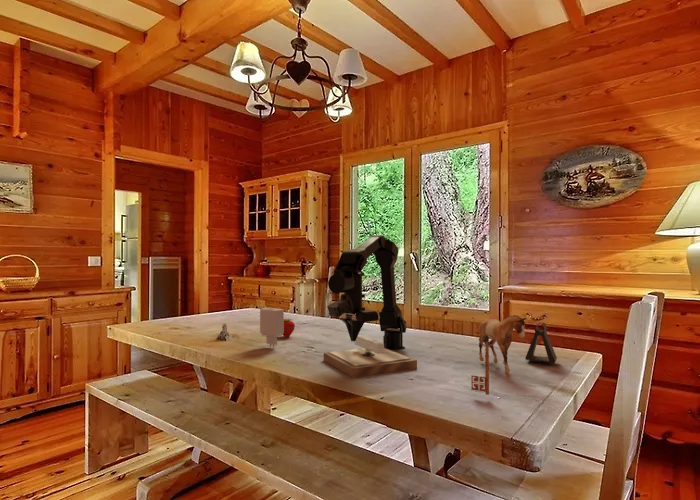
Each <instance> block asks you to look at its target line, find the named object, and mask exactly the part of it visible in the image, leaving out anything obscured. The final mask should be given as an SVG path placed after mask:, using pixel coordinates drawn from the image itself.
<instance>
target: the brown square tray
mask: <svg viewBox="0 0 700 500" xmlns="http://www.w3.org/2000/svg"><path fill="white" fill-rule="evenodd" d="M323 361H324V362H325V363H327V364H329V365H331V366H332V367H333V368H336V369H338V370H340V371H341V372H343V373H344V374H346V375H348V376H350V377H351V378H352V379H353V378H359V377H360V378H361V377H366V376H373V375H374V376H375V375H380V374H381V375H382V374H387V373H393V372H394V373H395V372H401V371H406V370H415V369H418V360H417V359H415V358H413V357H410V356H407V355H405V354H402V353H400V352H397V351H394V350H389V349H387V348H384V353H383V354H377V353H375V352H372V354H365V348H363V347H360V348H354V349H344V350H335V351H329V352H326V351H325V352H323Z"/></svg>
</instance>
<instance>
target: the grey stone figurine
mask: <svg viewBox="0 0 700 500" xmlns="http://www.w3.org/2000/svg"><path fill="white" fill-rule="evenodd" d="M221 327H222V329H221V330H220V333H219V334H218V335H217V338H216V339H219V340H223V341H226V342H227V341H232V340H233V335H232V333H229V332H228V325H227V323H223V324H222V326H221Z"/></svg>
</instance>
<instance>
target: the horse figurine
mask: <svg viewBox="0 0 700 500" xmlns="http://www.w3.org/2000/svg"><path fill="white" fill-rule="evenodd" d="M526 319H528V318H527V317H524V318H523V317H521V316H519V315H516V314H514V315H513V314H512V315H509V316H506V318H504V319H502V320H501V321H500V320H499V319H496V318H487V319H484V320H482V321H481V322H480V323H479V328H478V331H479V332H478V333H479V337H480V336H481V335H483V334H490V335H492V336H493V337H494V338H495V343H497V346H498V347H499V350H500V352H501V354H502V357H503V362H502V363H503V365H504V374H505V376H510V366H509V363H508V350H509V348H510V346H511V343H512V342H513V340H514V333H513V330H514V331H516V333H517V334H518V336H519V338H520V339H523V338H524V337H525V336H526V332H525V327H526V322H525V320H526ZM489 340H490V341H489ZM481 342H482V343H483V344H486V342H488V345H491V344H493V342H494V340H493V338H492V337H491V336H489V335H484V336H482V337H481ZM483 346H484V345H482V344H481V343H480V342H479V343H478V347H479V353H478V355H479V358H478V359H479V361H481V362H485V359H484V356H483V353H482V350H483V349H482V348H483ZM488 347H489V349H490V350H491V351H492V355H493V357H494V358H493V362H494V364H498V357H497V353H496V350H495V348H494V345H492V346H488Z"/></svg>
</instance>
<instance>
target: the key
mask: <svg viewBox="0 0 700 500" xmlns="http://www.w3.org/2000/svg"><path fill="white" fill-rule="evenodd" d="M484 335H489V336H491V337H492V338H493V340H494V342H493V344H491V345H488V342H486V344H485V343H484V342H483V343H482V342H481V337H482V336H484ZM478 342H479V343H481V344H482V345H483V346H484V347H485V349H484V350H485V353H484V357H485V359H484V362H485V363H484V364H485V366H484V367H485V369H484V370H485V371H484V372H485V376H479V375H473V374H472V375H471V377H470V379H471V388H470V389H471V390H472V391H480V392H485V395H487V396H489V395H490V352H489V349H490V347H489V346H492V345H493V346H494V345H495V343H496V342H495V338H494V337H493V336H492V335H490V334H483V335H481V336H480V335H479V337H478Z"/></svg>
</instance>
